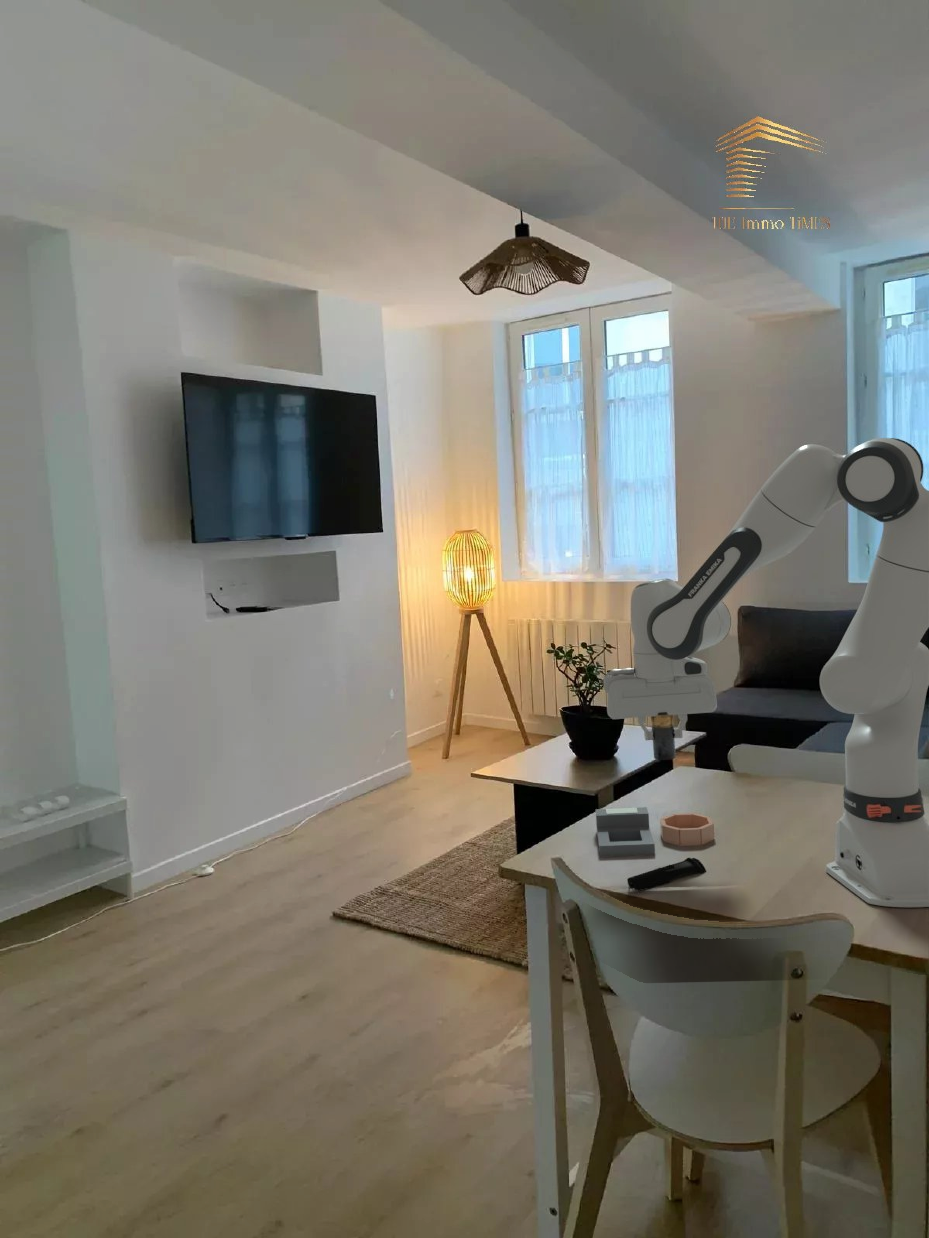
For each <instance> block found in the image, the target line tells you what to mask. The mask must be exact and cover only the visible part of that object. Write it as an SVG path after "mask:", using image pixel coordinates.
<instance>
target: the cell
mask: <svg viewBox="0 0 929 1238" xmlns="http://www.w3.org/2000/svg"><path fill="white" fill-rule="evenodd" d="M650 725H651V729H652V731H653V740H652V746H653V749H652V750H653V759H655V760H658V761H669V760H670V761H671V760H673V759H675V758H676V744H675V743H676V742H675V741H676V740H675V738H674V728H675V727H674V726H675V725H674V715H669V714H667V712H660V713H658V715H657V716H653V717H650Z"/></svg>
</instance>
